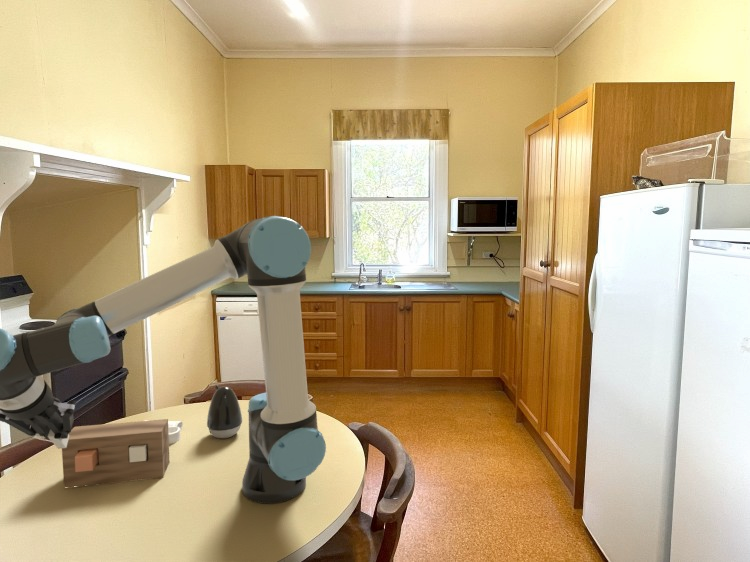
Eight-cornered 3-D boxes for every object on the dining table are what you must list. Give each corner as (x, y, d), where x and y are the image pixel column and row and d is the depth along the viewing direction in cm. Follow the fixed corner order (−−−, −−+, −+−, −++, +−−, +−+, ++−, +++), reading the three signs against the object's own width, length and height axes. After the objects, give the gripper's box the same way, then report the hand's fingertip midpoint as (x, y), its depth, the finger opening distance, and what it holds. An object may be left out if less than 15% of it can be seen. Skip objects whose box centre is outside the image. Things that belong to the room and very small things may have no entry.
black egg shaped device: (232, 424, 146) (231, 379, 145) (248, 435, 139) (247, 386, 137) (201, 434, 139) (200, 386, 138) (216, 445, 132) (215, 394, 130)
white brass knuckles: (192, 429, 144) (169, 450, 129) (137, 427, 145) (108, 448, 130) (192, 418, 144) (169, 439, 129) (136, 417, 144) (108, 437, 130)
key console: (163, 477, 114) (161, 431, 113) (64, 488, 109) (61, 440, 108) (169, 462, 122) (167, 418, 121) (77, 471, 116) (74, 426, 115)
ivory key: (145, 460, 112) (145, 446, 112) (129, 462, 111) (129, 448, 111) (150, 451, 117) (149, 438, 116) (135, 453, 116) (134, 439, 115)
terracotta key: (92, 470, 107) (91, 455, 107) (75, 472, 106) (74, 457, 106) (99, 460, 112) (99, 446, 112) (83, 461, 111) (82, 447, 111)
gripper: (-33, 415, 76) (23, 463, 93) (56, 409, 79) (94, 456, 96) (-16, 374, 80) (34, 427, 98) (67, 370, 84) (101, 422, 101)
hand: (63, 441), depth 97 cm, fingers closed
